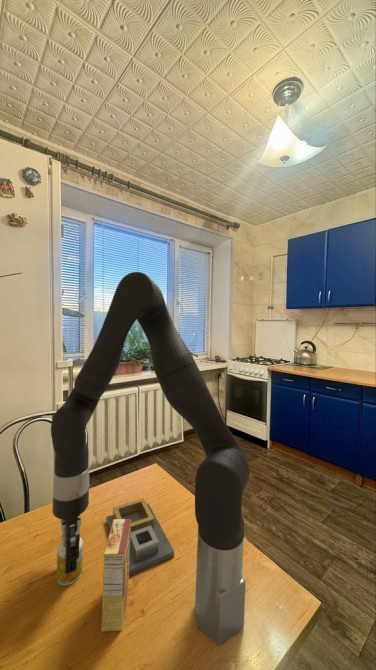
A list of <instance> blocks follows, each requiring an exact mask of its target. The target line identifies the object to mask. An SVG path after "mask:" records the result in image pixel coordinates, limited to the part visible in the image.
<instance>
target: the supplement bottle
mask: <svg viewBox="0 0 376 670" xmlns="http://www.w3.org/2000/svg"><path fill="white" fill-rule="evenodd" d="M76 534H77V533H76ZM56 550H57V552H56V580H57V583H58V584H59V585H61V586H69V585H71V584H74V583H75V582H76V581H77V580H79V579H80V577H81V575H82V572H83V563H84V562H83V559H84V558H83V556H84V555H83V553H84V541H83V538H82V537H81V536H80V541H79V559H77V569H76V571H74V572H72V573H69V574H66V572H65V564H66V561H65V547H63V532H62V533H61V536H60V542H59V543H58V546H57V549H56Z"/></svg>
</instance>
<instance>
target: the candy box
mask: <svg viewBox="0 0 376 670" xmlns="http://www.w3.org/2000/svg"><path fill="white" fill-rule="evenodd" d="M108 533H109V532H108ZM130 535H131V519H114V520H113V522H112V526H111V530H110V533H109V534H108V536H107V537H108V538H107V540H106V541H107V542H106V545H105V549H104V552H103V580H102V582H103V583H102V605H101V606H102V607H101V633H104V632H105V633H107V632H119V631H122V630H123V626H124V625H123V624H124V621H125V620H124V618H125V612H126V605H127V600H128V591H129V581H130V579H129V578H130V577H129V558H130Z"/></svg>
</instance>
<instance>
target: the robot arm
mask: <svg viewBox="0 0 376 670" xmlns="http://www.w3.org/2000/svg"><path fill="white" fill-rule="evenodd" d="M113 293H114V294H113V297H112V298H111V299H112V300H111V302H110V304H109V305H110V306H109V307H108V311H107V312H106V316H105V319H104V321H103V324H102V326H101V329H100V330H99V334H98V336H97V338H96V340H95V343H94V345H93V347H92V349H91V351H90V353H89V355H88V356H87V358H86V360H85V362H84V363H83V366H82V367H81V369H80V370H79V372H78V374H77V375H76V378H75V381H74V384H73V385H74V387H73V389H72V390H71V392H70V393H69V395H68V397H67V398H66V399H65V400H66V401H64V403H63V404H62V405H61V406H60V407H59V408H58V409H57V410H56V411H55V412H54V414H53V416H52V418H51V424H50V437H51V441H52V446H53V451H54V475H53V480H52V514H53V516H54V517H55V518H57V519H59V520H60V524H61V529H60V530H61V532H62V533H63V547H65V561H66V564H65V572H66V574H69V573H72V572H74V571H76V569H77V559H79V541H80V537H81V526H82V522H81V521H82V518H81V516H80V515H82V514H83V513H84V512H85V511H86V510H87V508H88V507H89V504H90V503H89V502H90V501H89V499H90V469H89V458H90V457H89V445H88V443H87V442H86V428H87V425H88V424H89V421H90V419H91V418H92V417H93V413H94V412H95V410H96V407H97V406H98V403H99V401H100V399H101V397H102V396H103V395H104V393H105V392H106V390H108V387H109V385H110V383H111V381H112V380H113V378H114V376H115V374H116V372H117V370H118V368H119V366H120V365H119V364H120V362H121V359H122V356H123V355H122V354H123V349H124V347H125V343H126V340H127V336H128V335H129V332H130V331H131V328H132V326H133V325H134V323H135V322H136V321H137V322H138V324H139V325H140V327H141V329H142V331H143V333H144V335H145V337H146V339H147V343H148V344H149V345H148V346H149V350H150V351H149V352H150V357H151V361H152V367H153V371H154V374H155V376H156V380H157V382H158V383H159V386H160V388H161V391H162V392H163V395H164V397H165V399H166V401H167V402H168V404H169V405H170V406H171V408H172V409H173V410H174V411H176V413H178V415H179V416H180V417H182V418H183V420H184V421H186V423H188V424H189V425H190V427H191V428H192V429H193V430H194V432H195V433H196V434H195V435H197V437H198V440H199V442H200V444H201V446H202V448H203V451H204V454H205V458H204V459H203V460H202V461H201V463H200V464H199V465H198V468H197V470H196V473H195V479H194V480H195V481H194V515H195V520H196V523H197V542H196V544H197V546H196V569H195V570H196V571H195V574H196V575H195V598H194V599H195V601H194V614H195V620H196V623H197V625H198V627H199V629H200V630H201V631H202V632H203V633H204V634H205V635H206V636H207V637H209V638H211V639H212V640H214V641H215V643H216V645H217V646H221V645H222V644H224V643H225V642H226V641H228V640H229V639H231V638H232V637H235V635H237V634H238V633H240V632H241V631H243V630H244V627H245V610H246V609H245V608H246V607H245V606H246V605H245V604H246V585H247V584H246V580H245V578H244V577H243V568H244V567H243V566H244V563H243V562H244V548H245V547H244V545H245V544H244V542H245V520H244V519H243V516H242V504H243V503H242V501H243V493H244V492H245V489H246V486H247V484H248V481H249V479H250V464H249V461H248V459H247V456H246V455H245V453H244V451H243V450H242V447H240V445H239V443H238V442H237V440H236V438H235V437H234V435H233V433H232V432H231V430H230V429H229V427H228V425H227V424H226V421H225V420H224V418H223V417H222V415H221V413H220V410H219V408H218V406H217V404H216V401H215V399H214V397H213V396H212V393H211V392H210V389H209V387H208V386H207V384H206V381H205V379H204V377H203V374H202V372H201V371H200V368H199V366H198V365H197V363H196V360H195V359H194V357H193V355H192V354H191V351H190V350H189V348H188V346H187V345H186V343H185V341H184V340H183V338H182V337H181V335H180V333H179V332H178V330H177V329H176V327H175V324H174V322H173V320H172V317H171V314H170V312H169V309H168V305H167V304H166V301H165V298H164V294H163V292H162V290H161V288H160V287H159V286H158V285H157V284H156V283H155V281H154V280H153V279H152V277H150V276H149V275H147V274H146V273H144V272H141V271H133V272H130V273H128V274H126V275H124V276H123V277H122V278H121V279H120V281H119V283H118V284H117V286H116V288H115V291H114V292H113ZM76 533H77V534H76Z"/></svg>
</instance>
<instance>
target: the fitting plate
mask: <svg viewBox="0 0 376 670" xmlns="http://www.w3.org/2000/svg"><path fill="white" fill-rule="evenodd" d="M105 518H106V519H105V522H106V523H105V524H106V526H107V530H108V533H110V530H111V526H112V522H113V520H114V519H131V535H130V558H129V578H130V577H132V576H135V575H136V574H139V573H141V572H143V571H146V570H148V569H150V568H153V567H155V566H157V565H160V564H162V563H164V562H167V561H168V560H170V559H173V558H174V557H175V549H174V548H173V546H172V544H171V542H170V541H169V539H168V537H167V535H166V533H165V532H164V529H163V527H162V526H161V524H160V522H159V521H158V519H157V517H156V515H155V513H154V511H153V509H152V507H151V506H150V503H147V502H146V500H145V498H140V499H139V498H138V499H137V500H134V501H130V502H126V503H122V504H119V505H117V506H114V507H112V514H110V515H107V516H106V517H105Z"/></svg>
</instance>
